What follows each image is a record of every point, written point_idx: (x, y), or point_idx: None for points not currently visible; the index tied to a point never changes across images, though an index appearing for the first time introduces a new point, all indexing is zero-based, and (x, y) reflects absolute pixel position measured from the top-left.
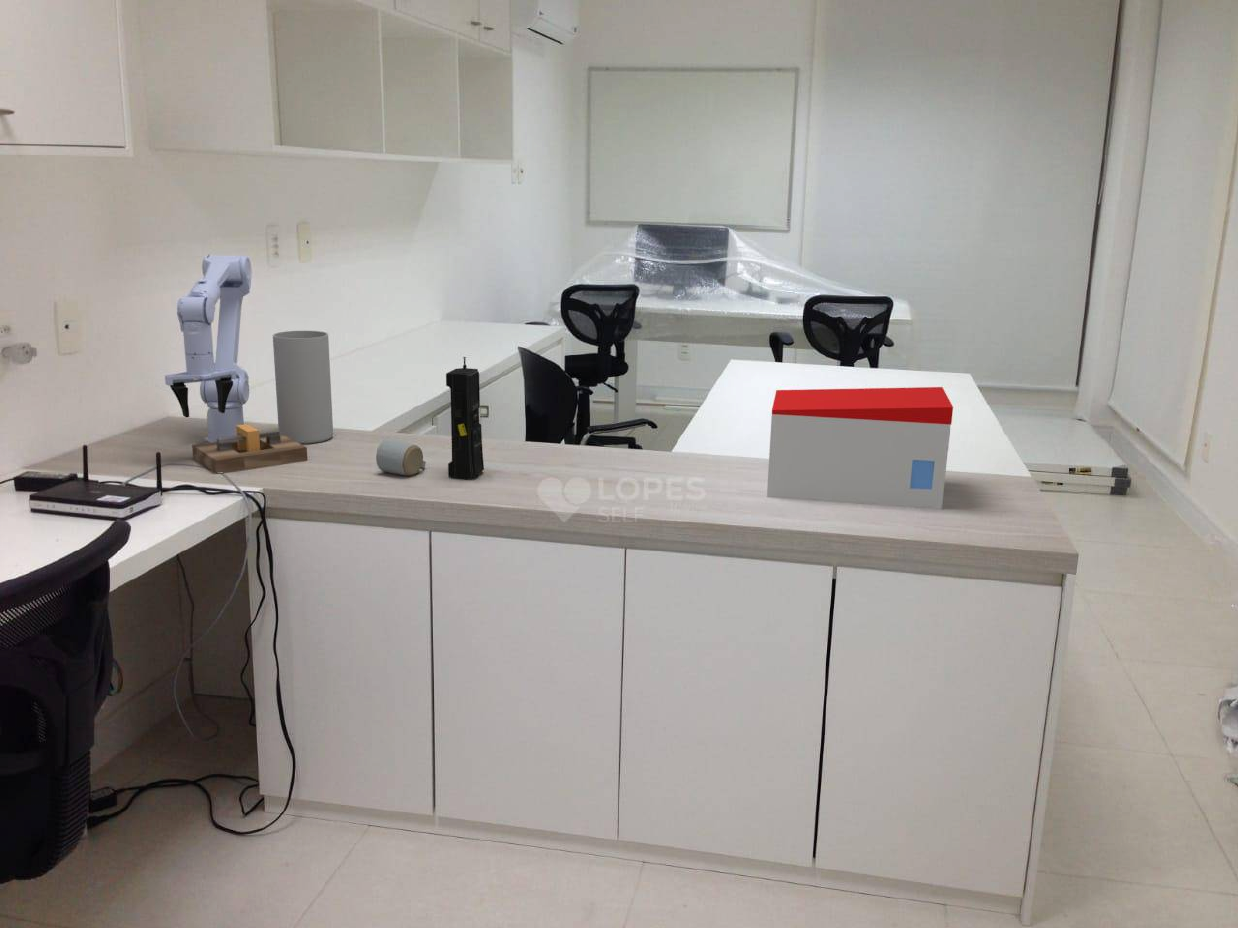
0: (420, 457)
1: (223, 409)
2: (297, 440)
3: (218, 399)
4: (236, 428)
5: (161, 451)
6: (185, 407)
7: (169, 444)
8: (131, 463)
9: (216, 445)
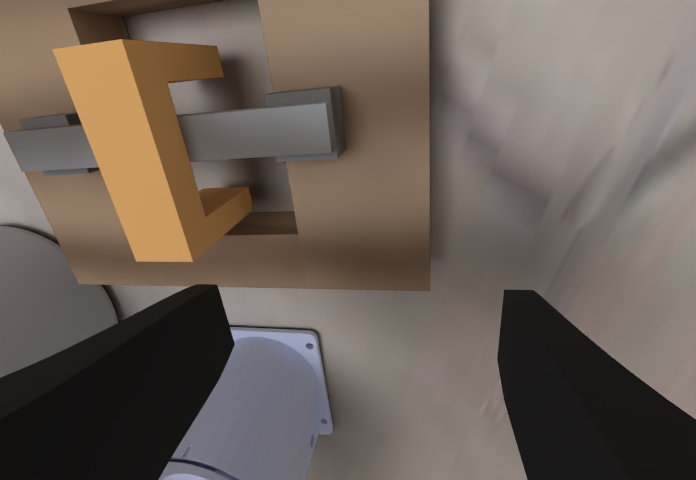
0: None
1: (184, 295)
2: (50, 247)
3: (173, 432)
4: (201, 249)
5: (497, 390)
6: (588, 345)
7: (441, 442)
8: (683, 302)
9: (334, 218)
